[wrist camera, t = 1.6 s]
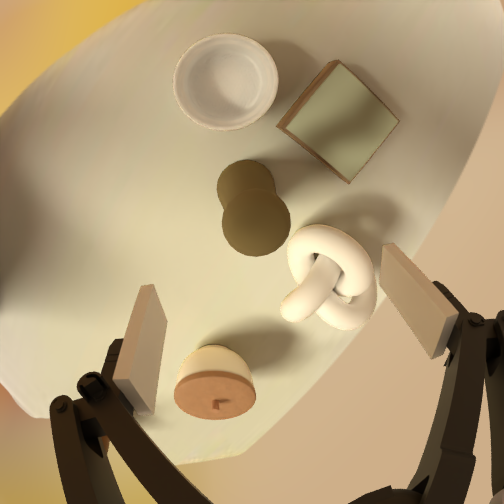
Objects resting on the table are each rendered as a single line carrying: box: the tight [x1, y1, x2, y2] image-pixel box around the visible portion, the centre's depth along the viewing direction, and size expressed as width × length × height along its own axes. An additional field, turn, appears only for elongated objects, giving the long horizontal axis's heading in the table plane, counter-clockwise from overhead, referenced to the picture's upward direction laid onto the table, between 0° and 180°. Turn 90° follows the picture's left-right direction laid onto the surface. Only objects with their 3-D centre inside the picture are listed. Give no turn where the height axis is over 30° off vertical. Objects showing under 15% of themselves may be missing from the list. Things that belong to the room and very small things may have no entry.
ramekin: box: [173, 33, 279, 131], centre depth 24 cm, size 9×9×4 cm
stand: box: [276, 60, 400, 184], centre depth 27 cm, size 9×9×3 cm
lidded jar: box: [174, 345, 256, 420], centre depth 39 cm, size 11×11×9 cm
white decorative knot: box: [280, 224, 377, 330], centre depth 32 cm, size 11×12×9 cm
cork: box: [217, 160, 291, 257], centre depth 26 cm, size 6×6×11 cm
